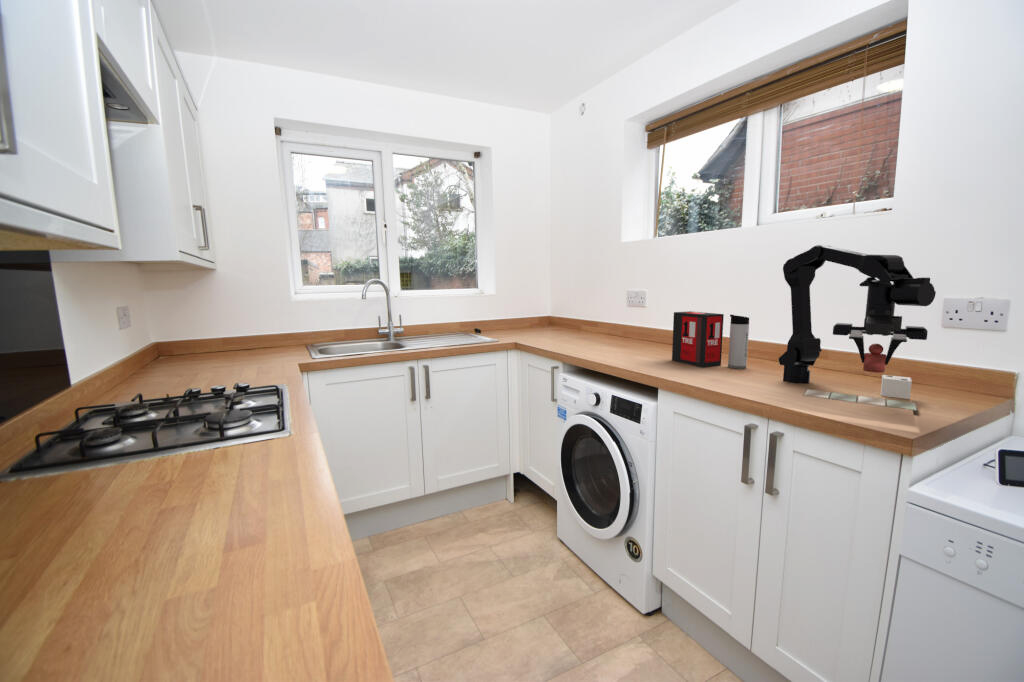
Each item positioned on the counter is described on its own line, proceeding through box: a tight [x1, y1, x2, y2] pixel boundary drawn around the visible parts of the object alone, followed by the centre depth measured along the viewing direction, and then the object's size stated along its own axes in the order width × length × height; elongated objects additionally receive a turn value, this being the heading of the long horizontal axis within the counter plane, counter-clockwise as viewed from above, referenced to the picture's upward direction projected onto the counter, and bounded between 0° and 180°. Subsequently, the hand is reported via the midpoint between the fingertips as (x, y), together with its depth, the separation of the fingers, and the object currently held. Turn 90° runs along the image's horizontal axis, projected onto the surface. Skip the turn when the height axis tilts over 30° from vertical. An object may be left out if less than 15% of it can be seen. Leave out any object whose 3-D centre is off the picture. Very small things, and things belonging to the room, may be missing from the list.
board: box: [802, 388, 919, 416], centre depth 120 cm, size 24×9×1 cm, turn 51°
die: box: [880, 374, 913, 400], centre depth 123 cm, size 6×6×6 cm
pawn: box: [862, 343, 887, 374], centre depth 117 cm, size 4×4×7 cm
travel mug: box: [727, 314, 750, 370], centre depth 167 cm, size 6×7×20 cm
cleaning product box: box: [671, 311, 725, 369], centre depth 176 cm, size 16×9×20 cm, turn 24°
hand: (874, 363), depth 117 cm, fingers closed on pawn, 4 cm apart
